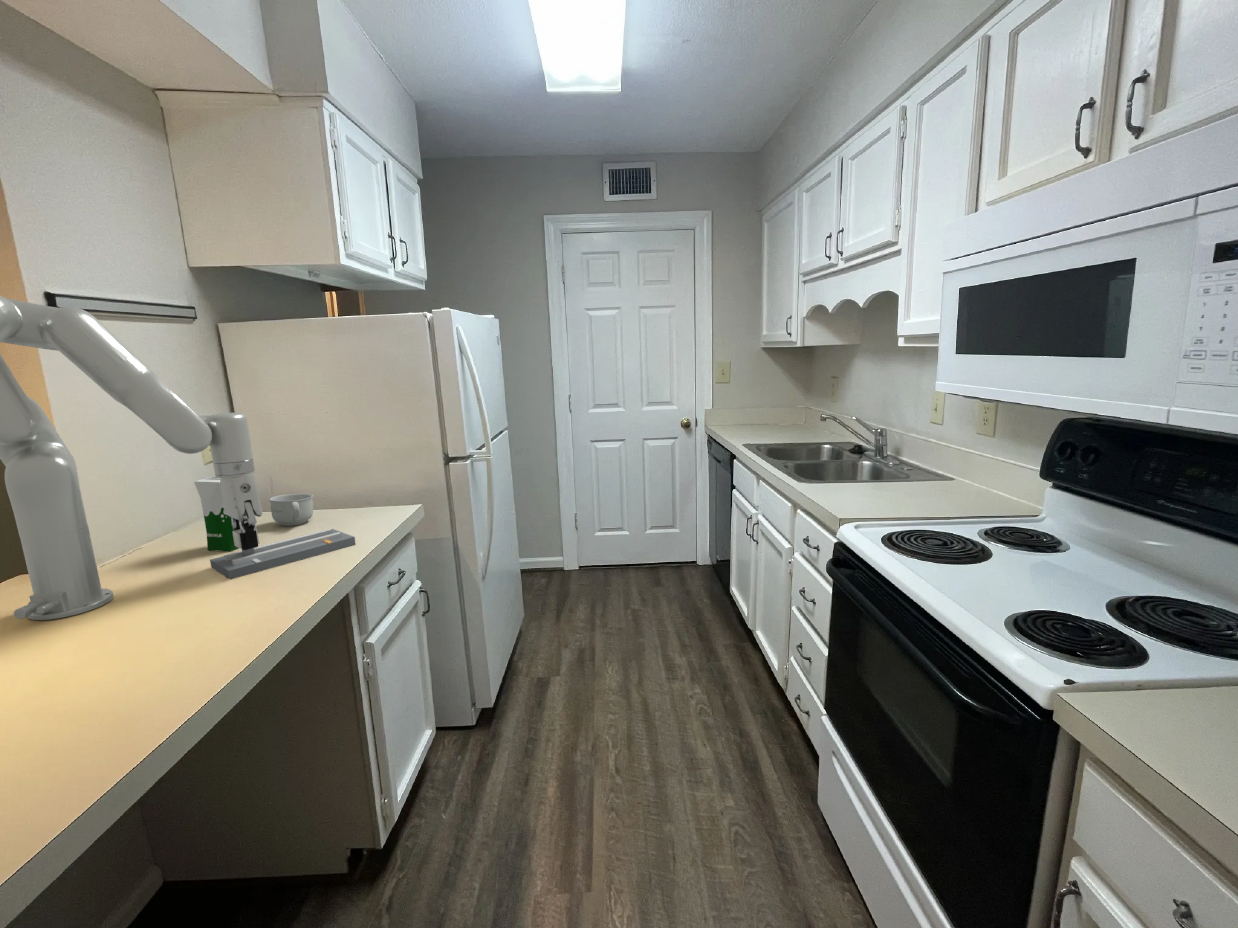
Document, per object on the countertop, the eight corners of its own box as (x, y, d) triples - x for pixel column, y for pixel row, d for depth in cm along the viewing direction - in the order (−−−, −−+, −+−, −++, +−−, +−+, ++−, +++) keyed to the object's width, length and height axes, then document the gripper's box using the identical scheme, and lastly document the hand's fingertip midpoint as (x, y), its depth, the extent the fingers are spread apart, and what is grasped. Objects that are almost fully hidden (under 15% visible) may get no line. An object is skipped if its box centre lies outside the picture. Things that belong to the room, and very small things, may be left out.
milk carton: (259, 541, 153) (247, 466, 149) (229, 553, 144) (216, 474, 140) (232, 540, 155) (220, 466, 151) (200, 551, 146) (187, 473, 142)
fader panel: (230, 579, 127) (227, 566, 127) (211, 567, 135) (209, 555, 134) (355, 544, 148) (354, 533, 148) (333, 536, 156) (331, 525, 155)
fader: (241, 560, 133) (237, 533, 131) (236, 557, 135) (232, 531, 133) (261, 555, 136) (257, 529, 134) (255, 552, 138) (251, 526, 136)
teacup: (275, 521, 172) (271, 494, 170) (316, 515, 176) (313, 490, 175) (270, 534, 160) (266, 505, 158) (314, 527, 164) (311, 500, 162)
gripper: (267, 469, 129) (279, 549, 132) (239, 462, 139) (251, 536, 143) (228, 475, 123) (242, 558, 127) (202, 467, 133) (215, 544, 137)
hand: (246, 545), depth 135 cm, fingers closed on fader, 3 cm apart
